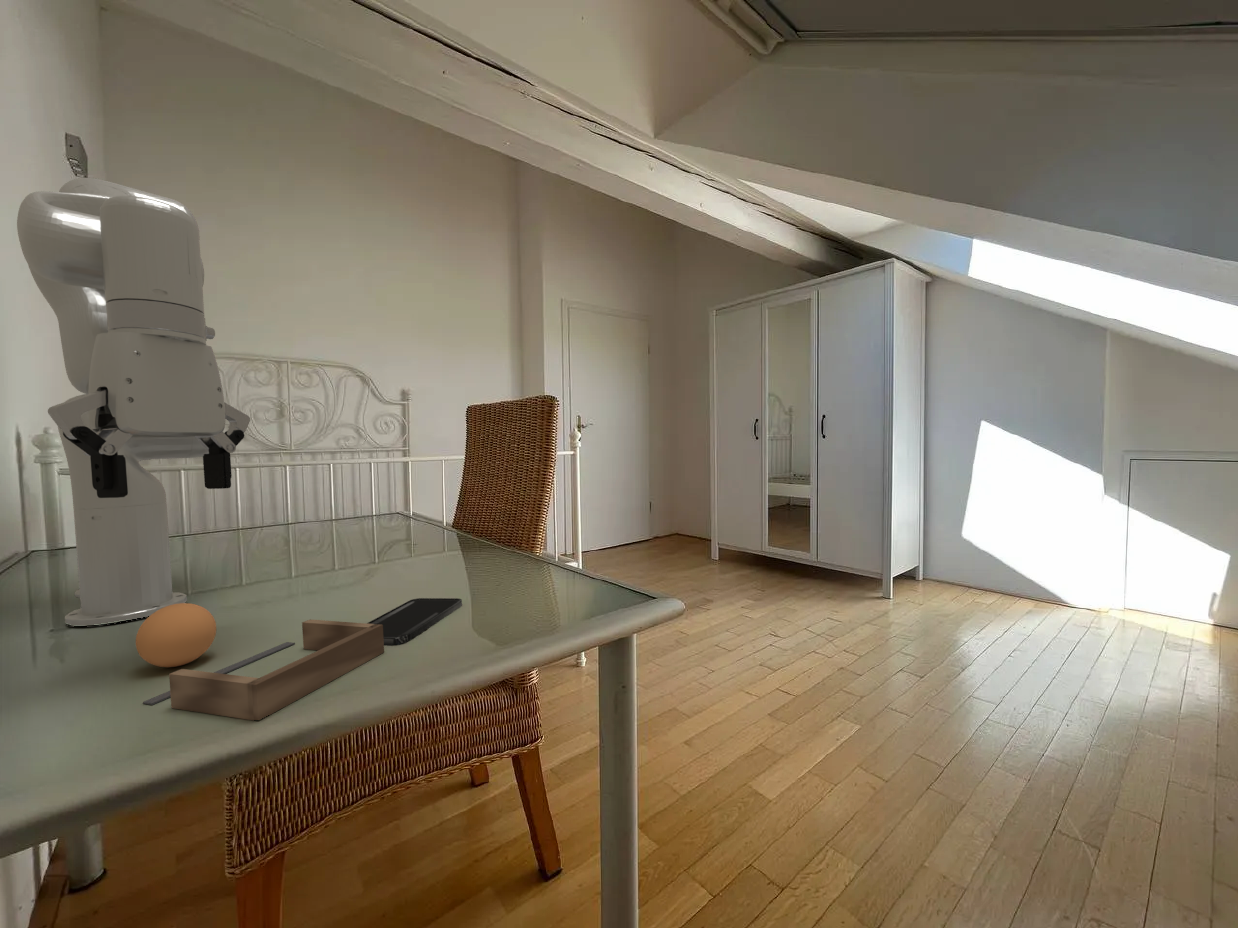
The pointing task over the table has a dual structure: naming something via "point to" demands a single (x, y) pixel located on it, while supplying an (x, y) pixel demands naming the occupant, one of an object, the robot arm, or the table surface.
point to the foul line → (227, 669)
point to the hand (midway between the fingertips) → (169, 492)
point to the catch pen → (280, 673)
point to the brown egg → (175, 635)
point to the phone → (414, 618)
